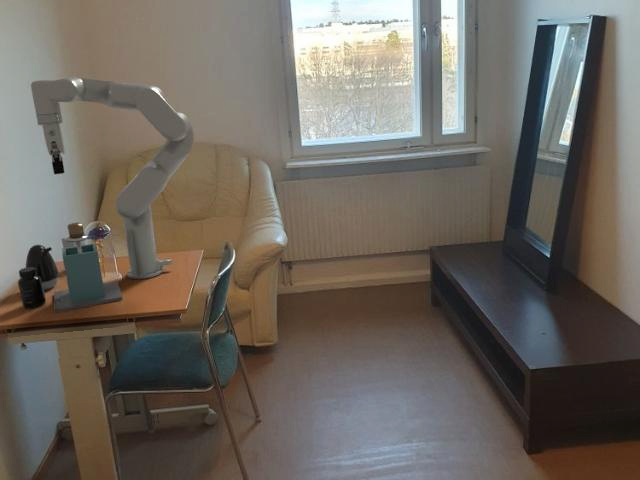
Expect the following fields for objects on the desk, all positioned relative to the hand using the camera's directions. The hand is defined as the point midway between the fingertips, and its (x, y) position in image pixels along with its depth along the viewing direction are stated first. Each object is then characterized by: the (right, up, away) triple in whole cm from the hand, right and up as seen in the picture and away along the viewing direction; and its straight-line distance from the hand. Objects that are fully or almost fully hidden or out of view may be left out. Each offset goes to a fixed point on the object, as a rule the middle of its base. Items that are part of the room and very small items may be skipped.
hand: (59, 171), depth 214 cm
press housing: (+12, -41, -6) cm, 43 cm away
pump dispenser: (-7, -39, +6) cm, 40 cm away
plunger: (+12, -39, -7) cm, 41 cm away
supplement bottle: (-4, -43, -10) cm, 45 cm away
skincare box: (-3, -33, +24) cm, 41 cm away
